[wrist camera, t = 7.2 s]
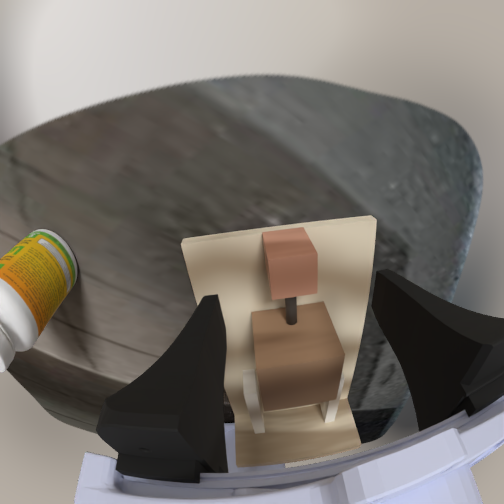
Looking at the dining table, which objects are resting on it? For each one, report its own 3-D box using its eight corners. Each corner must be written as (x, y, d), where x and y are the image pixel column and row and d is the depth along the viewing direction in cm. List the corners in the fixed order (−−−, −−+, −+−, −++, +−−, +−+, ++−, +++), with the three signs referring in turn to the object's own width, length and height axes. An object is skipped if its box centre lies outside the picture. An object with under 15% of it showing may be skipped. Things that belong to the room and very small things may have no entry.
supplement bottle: (44, 212, 15) (-47, 290, 7) (91, 266, 18) (24, 368, 9) (18, 253, 17) (-51, 329, 8) (60, 299, 19) (6, 388, 10)
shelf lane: (343, 396, 27) (359, 447, 21) (235, 413, 27) (237, 467, 21) (371, 215, 17) (429, 270, 11) (183, 238, 17) (158, 309, 11)
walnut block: (320, 349, 21) (336, 399, 17) (258, 358, 21) (264, 411, 17) (324, 224, 16) (356, 269, 12) (239, 235, 16) (241, 285, 12)
